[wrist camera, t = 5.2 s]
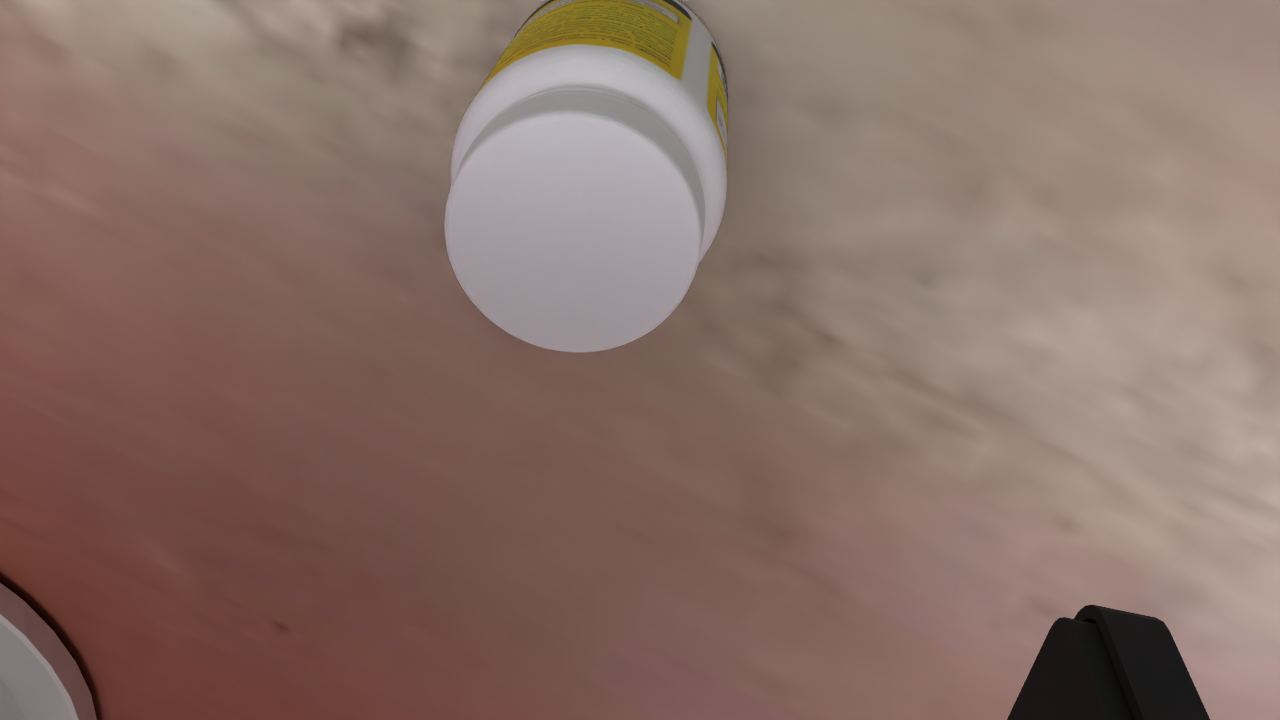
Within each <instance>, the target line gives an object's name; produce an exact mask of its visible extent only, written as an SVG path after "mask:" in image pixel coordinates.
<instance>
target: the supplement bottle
mask: <svg viewBox="0 0 1280 720" xmlns="http://www.w3.org/2000/svg"><path fill="white" fill-rule="evenodd" d="M727 114H728V93H727V82H726V75H725V70H724V65H723V62H722V59H721V55H720V53H719V50H718V48H717V46H716V44H715V42H714V40H713V38H712V36H711V35H710V33H709V32H708V30H707V29H706V27H705V26H704V24H703V23H702V22H701V21H700V20H699V19H698V18H697V17H696V15H695V14H694V13H693V12H692V11H690V10H689V9H688V8H687V7H686V6H685V5H683V4H682V3H681V2H680V1H678V0H548V1H546V2H545V3H544V4H542V5H541V6H540V7H539V8H538V9H537V10H536V11H535V12H534V13H533V14H532V15H531V16H530V17H529V18H528V19H527V20H526V22H525V23H524V24H523V25H522V27H521V28H520V29H519V31H518V32H517V34H516V35H515V37H514V38H513V40H512V42H511V43H510V45H509V46H508V48H507V49H506V50H505V52H504V53H503V55H502V56H501V58H500V59H499V61H498V63H497V64H496V66H495V67H494V69H493V70H492V72H491V73H490V75H489V76H488V78H487V79H486V81H485V82H484V84H483V85H482V87H481V88H480V90H479V91H478V93H477V94H476V96H475V97H474V99H473V100H472V102H471V103H470V105H469V106H468V108H467V110H466V112H465V114H464V115H463V117H462V120H461V122H460V125H459V128H458V130H457V133H456V137H455V141H454V146H453V151H452V157H451V188H450V192H449V195H448V199H447V204H446V208H445V219H444V230H445V241H446V247H447V253H448V257H449V260H450V263H451V266H452V268H453V271H454V273H455V275H456V278H457V280H458V282H459V283H460V285H461V287H462V288H463V290H464V291H465V293H466V294H467V296H468V297H469V299H470V300H471V301H472V302H473V303H474V305H475V306H476V307H477V308H478V309H479V310H480V311H481V312H482V313H483V314H484V315H485V316H486V317H487V318H488V319H489V320H490V321H492V322H493V323H494V324H496V325H497V326H498V327H500V328H501V329H503V330H504V331H506V332H507V333H509V334H511V335H513V336H514V337H516V338H518V339H521V340H523V341H525V342H527V343H530V344H533V345H535V346H539V347H542V348H546V349H551V350H556V351H564V352H572V353H583V352H596V351H602V350H608V349H612V348H615V347H619V346H622V345H624V344H627V343H629V342H632V341H634V340H636V339H638V338H640V337H642V336H643V335H645V334H647V333H648V332H650V331H652V330H653V329H654V328H656V327H657V326H658V325H659V324H661V323H662V322H663V321H664V320H665V319H666V318H667V317H668V316H669V315H670V314H671V313H672V312H673V311H674V310H675V309H676V307H677V306H678V305H679V304H680V302H681V301H682V299H683V298H684V296H685V295H686V293H687V291H688V290H689V287H690V285H691V283H692V281H693V279H694V277H695V274H696V271H697V268H698V264H699V263H700V261H701V260H702V259H703V257H704V256H705V254H706V253H707V251H708V250H709V248H710V246H711V244H712V242H713V240H714V238H715V236H716V234H717V231H718V229H719V226H720V223H721V220H722V216H723V213H724V210H725V204H726V195H727V185H728V174H727V150H728V145H727V135H728V115H727Z"/></svg>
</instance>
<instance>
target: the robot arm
mask: <svg viewBox="0 0 1280 720" xmlns="http://www.w3.org/2000/svg"><path fill="white" fill-rule="evenodd" d="M0 720H97V718H96V714H95V710H94V705H93V701H92V697H91V693H90V691H89V689H88V687H87V684H86V682H85V680H84V678H83V676H82V674H81V672H80V670H79V668H78V665H77V663H76V662H75V660H74V659H73V657H72V656H71V655H70V653H69V652H68V650H67V649H66V648H65V646H64V645H63V643H62V642H61V641H60V639H59V638H58V637H57V635H56V634H55V632H54V631H53V630H52V629H51V628H50V627H49V626H48V625H47V623H46V622H45V621H44V620H43V619H42V618H41V617H40V616H39V615H38V614H37V613H36V612H35V611H34V610H33V609H32V608H31V607H30V606H29V605H28V604H27V603H26V602H25V601H24V600H23V599H21V598H20V597H19V596H17V595H16V594H15V593H13V592H12V591H11V590H9V589H8V588H7V587H6V586H4V585H3V584H2V583H0ZM1007 720H1210V719H1209V716H1208V714H1207V712H1206V710H1205V708H1204V705H1203V703H1202V701H1201V699H1200V697H1199V694H1198V692H1197V690H1196V688H1195V686H1194V683H1193V681H1192V679H1191V677H1190V675H1189V672H1188V670H1187V668H1186V666H1185V664H1184V662H1183V659H1182V657H1181V655H1180V653H1179V651H1178V648H1177V646H1176V644H1175V642H1174V640H1173V637H1172V635H1171V633H1170V631H1169V629H1168V628H1167V626H1166V625H1165V623H1164V622H1163V621H1161V620H1159V619H1157V618H1154V617H1150V616H1145V615H1140V614H1135V613H1130V612H1125V611H1120V610H1115V609H1110V608H1106V607H1101V606H1096V605H1088V606H1085V607H1083V608H1082V609H1081V610H1080V611H1079V612H1078V613H1077V615H1076V616H1075V618H1074V619H1070V618H1065V617H1063V618H1059V619H1058V620H1057V621H1055V622H1054V624H1053V625H1052V627H1051V629H1050V630H1049V633H1048V635H1047V637H1046V639H1045V641H1044V643H1043V645H1042V647H1041V649H1040V652H1039V654H1038V656H1037V658H1036V660H1035V662H1034V664H1033V666H1032V668H1031V670H1030V673H1029V675H1028V677H1027V679H1026V681H1025V683H1024V685H1023V687H1022V689H1021V692H1020V694H1019V696H1018V698H1017V700H1016V702H1015V704H1014V706H1013V708H1012V711H1011V713H1010V715H1009V717H1008V719H1007Z"/></svg>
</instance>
